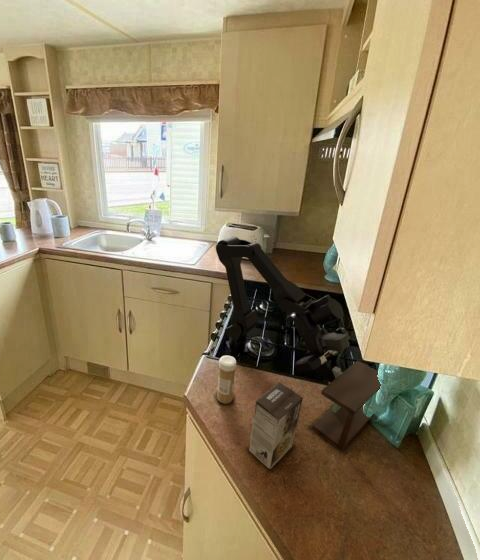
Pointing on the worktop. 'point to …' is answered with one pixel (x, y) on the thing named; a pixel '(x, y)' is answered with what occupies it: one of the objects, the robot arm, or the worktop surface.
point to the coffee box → (274, 424)
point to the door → (336, 373)
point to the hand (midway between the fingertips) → (338, 383)
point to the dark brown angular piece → (347, 404)
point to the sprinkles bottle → (226, 379)
